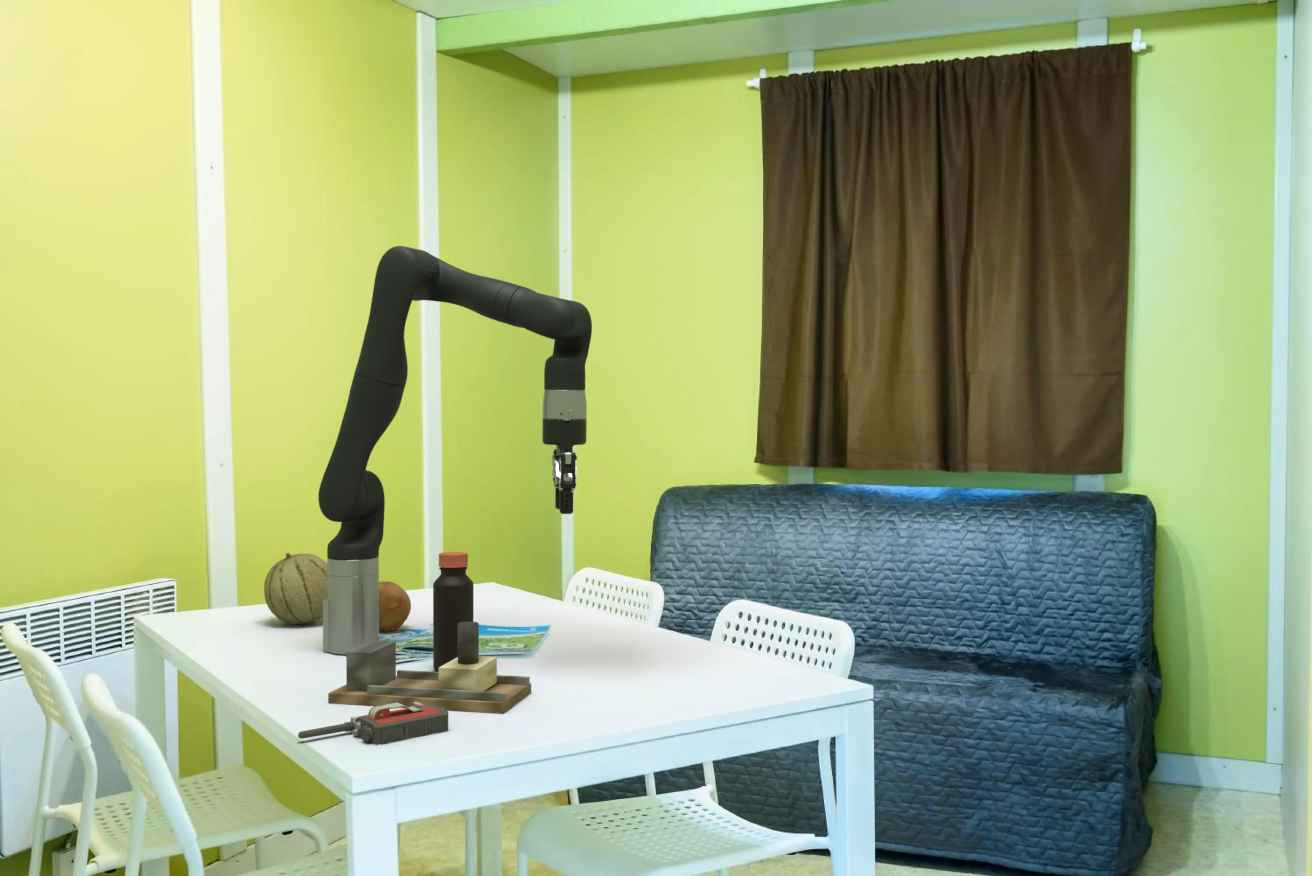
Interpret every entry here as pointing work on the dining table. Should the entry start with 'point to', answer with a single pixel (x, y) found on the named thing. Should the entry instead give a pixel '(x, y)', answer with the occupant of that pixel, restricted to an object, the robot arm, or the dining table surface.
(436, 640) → the bottle
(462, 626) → the block
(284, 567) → the cantaloupe
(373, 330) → the robot arm
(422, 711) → the walkie-talkie
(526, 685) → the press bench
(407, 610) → the onion
